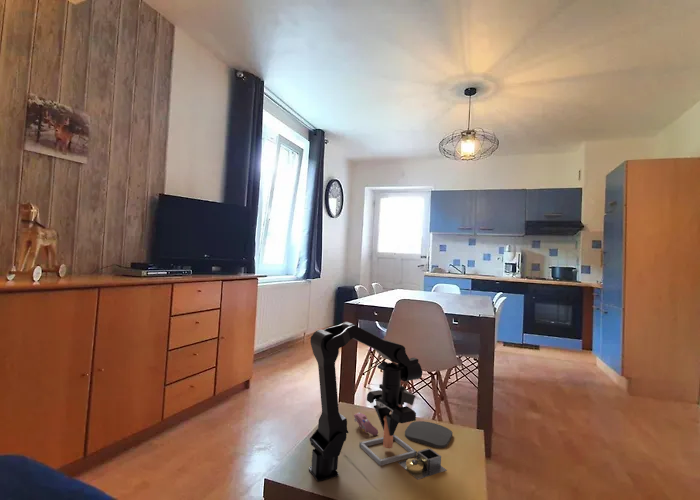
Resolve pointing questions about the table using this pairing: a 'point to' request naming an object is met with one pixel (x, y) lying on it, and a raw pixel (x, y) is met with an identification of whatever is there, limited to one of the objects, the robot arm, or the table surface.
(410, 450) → the tray
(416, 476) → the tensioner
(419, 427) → the media streaming box
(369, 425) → the video game controller
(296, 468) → the table surface
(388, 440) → the pin
